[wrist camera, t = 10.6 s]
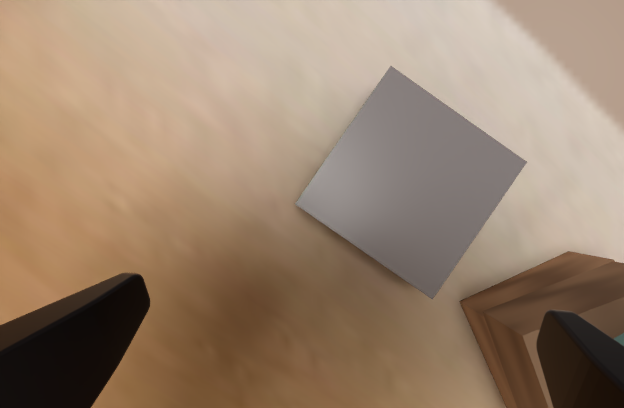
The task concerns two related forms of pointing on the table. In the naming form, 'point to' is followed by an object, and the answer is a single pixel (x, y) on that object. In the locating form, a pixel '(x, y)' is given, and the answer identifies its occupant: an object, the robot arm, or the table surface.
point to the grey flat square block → (411, 182)
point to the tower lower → (515, 288)
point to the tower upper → (529, 315)
